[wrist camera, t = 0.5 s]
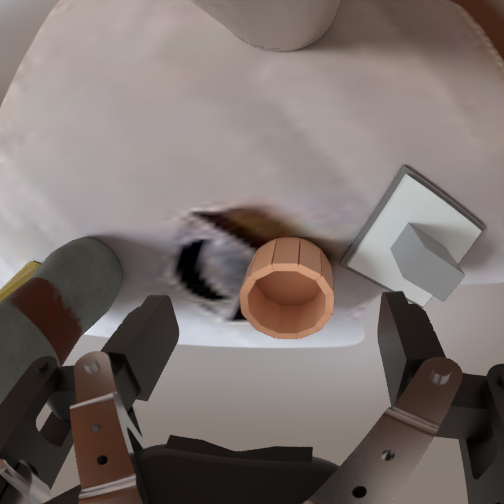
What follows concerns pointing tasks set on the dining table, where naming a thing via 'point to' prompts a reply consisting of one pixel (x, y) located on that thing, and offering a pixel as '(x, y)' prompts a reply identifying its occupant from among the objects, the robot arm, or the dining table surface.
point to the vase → (18, 279)
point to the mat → (383, 203)
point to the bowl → (288, 289)
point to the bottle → (56, 306)
